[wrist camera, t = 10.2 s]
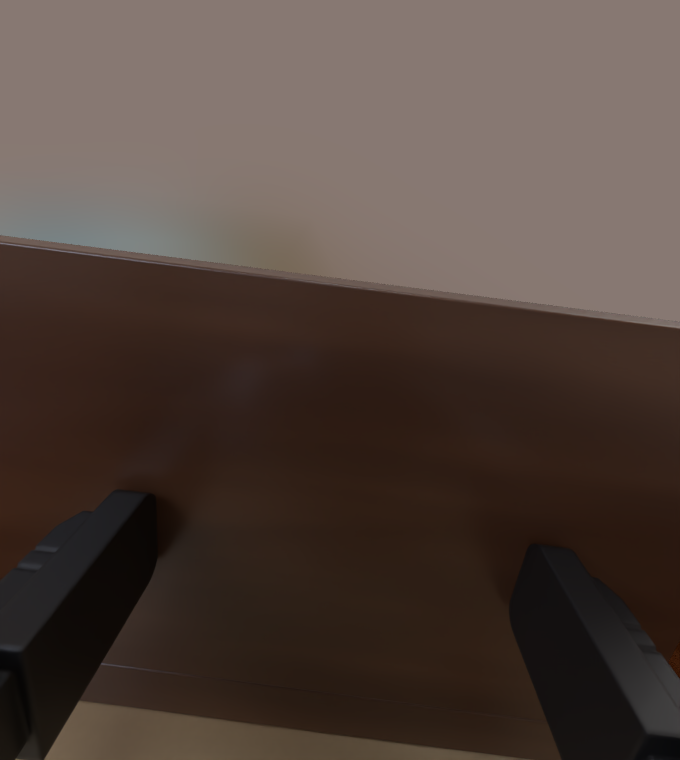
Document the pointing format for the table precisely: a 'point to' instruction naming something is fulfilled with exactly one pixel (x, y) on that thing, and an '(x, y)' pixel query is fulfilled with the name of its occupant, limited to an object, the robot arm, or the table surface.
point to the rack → (336, 481)
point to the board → (218, 740)
